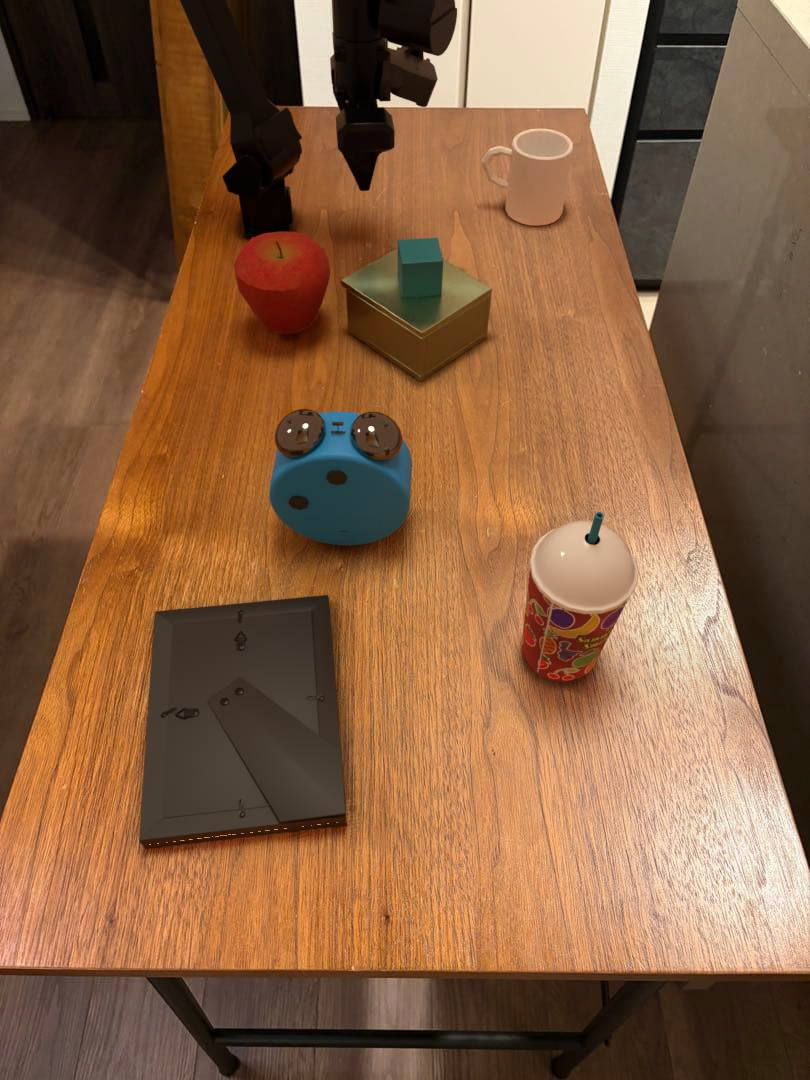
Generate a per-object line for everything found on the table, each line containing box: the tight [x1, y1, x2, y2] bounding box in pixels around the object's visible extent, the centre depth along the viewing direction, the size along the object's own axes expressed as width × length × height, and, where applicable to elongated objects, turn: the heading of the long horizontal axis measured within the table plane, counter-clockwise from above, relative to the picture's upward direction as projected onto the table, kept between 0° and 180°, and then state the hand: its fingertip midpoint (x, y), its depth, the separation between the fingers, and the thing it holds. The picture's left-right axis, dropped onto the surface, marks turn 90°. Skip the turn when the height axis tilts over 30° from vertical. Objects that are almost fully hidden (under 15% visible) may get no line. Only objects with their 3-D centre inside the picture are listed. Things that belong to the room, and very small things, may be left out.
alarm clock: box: [268, 408, 413, 546], centre depth 80 cm, size 13×6×15 cm, turn 87°
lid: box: [340, 247, 493, 338], centre depth 99 cm, size 13×12×1 cm
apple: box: [233, 231, 331, 336], centre depth 100 cm, size 11×11×12 cm
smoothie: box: [520, 511, 640, 683], centre depth 69 cm, size 8×8×20 cm
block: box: [397, 237, 444, 298], centre depth 96 cm, size 5×5×5 cm
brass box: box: [345, 288, 492, 382], centre depth 101 cm, size 13×12×6 cm
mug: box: [481, 127, 574, 227], centre depth 117 cm, size 8×12×10 cm
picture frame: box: [138, 594, 348, 850], centre depth 71 cm, size 16×3×21 cm
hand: (362, 169), depth 103 cm, fingers open, 9 cm apart
